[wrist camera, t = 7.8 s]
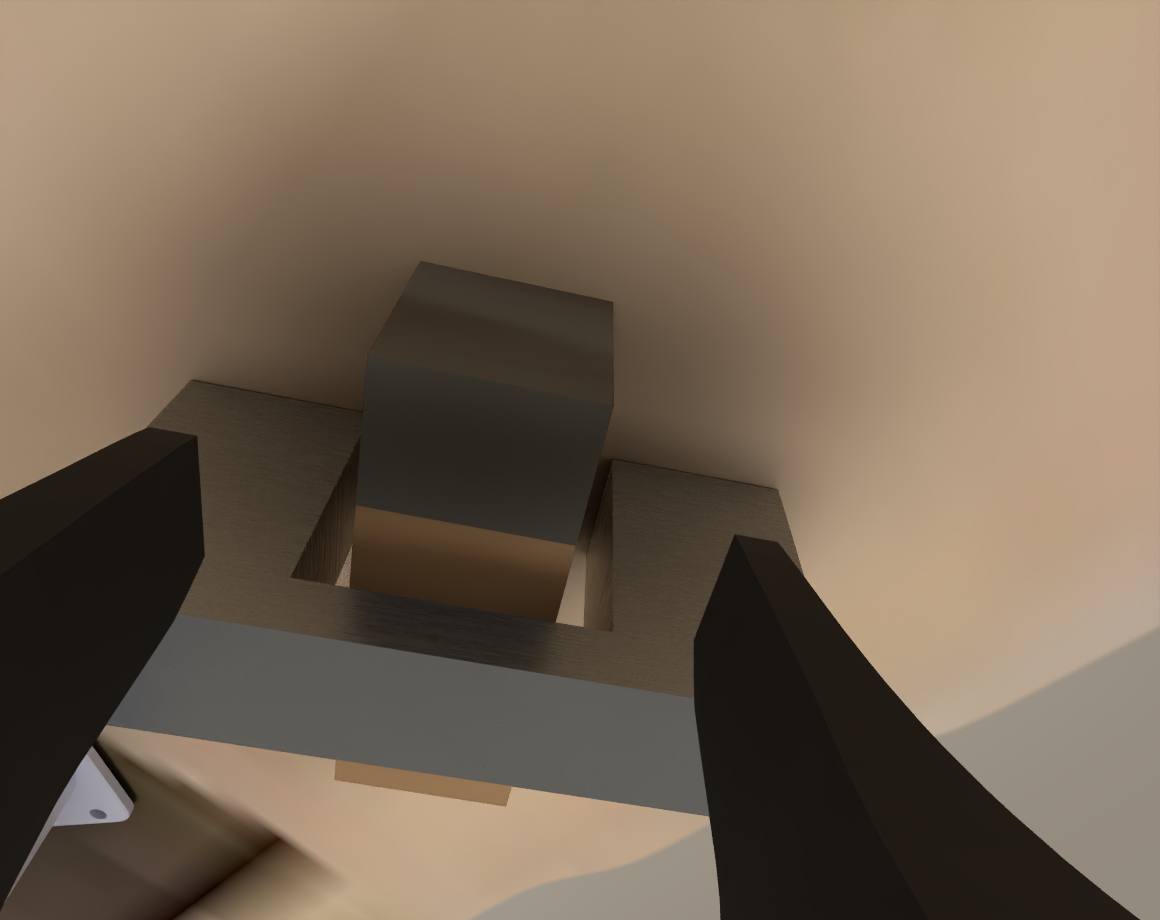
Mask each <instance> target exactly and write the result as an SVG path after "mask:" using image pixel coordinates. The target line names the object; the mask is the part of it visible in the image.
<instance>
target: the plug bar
mask: <svg viewBox="0 0 1160 920" xmlns="http://www.w3.org/2000/svg"><path fill="white" fill-rule="evenodd" d="M613 407H614V369H613V302H611V301H606V300H601V299H596V298H592V297H587V296H582V295H578V294H573V293H568V292H564V291H559V290H554V289H549V288H545V287H540V286H535V285H531V284H526V283H521V282H516V281H512V280H507V279H502V278H498V277H493V276H488V275H484V274H479V273H474V272H469V271H465V270H460V269H455V268H451V267H446V266H441V265H436V264H432V263H427V262H422V261H421V262H420V263H419V265H418V267H417V269H416V270H415V272H414V274H413V276H412V278H411V279H410V281H409V283H408V285H407V286H406V288H405V290H404V292H403V293H402V295H401V297H400V299H399V301H398V302H397V304H396V306H395V308H394V309H393V311H392V313H391V315H390V316H389V318H388V320H387V322H386V323H385V325H384V327H383V329H382V331H381V332H380V334H379V336H378V338H377V339H376V341H375V343H374V345H373V346H372V348H371V350H370V352H369V354H368V355H367V366H366V379H365V392H364V404H363V417H362V430H361V443H360V456H359V469H358V482H357V495H356V508H355V521H354V534H353V547H352V560H351V573H350V586H349V588H354V589H360V590H366V591H372V592H378V593H384V594H390V595H396V596H402V597H408V598H413V599H419V600H425V601H431V602H437V603H443V604H449V605H455V606H461V607H467V608H473V609H478V610H484V611H490V612H496V613H502V614H508V615H514V616H520V617H526V618H532V619H538V620H544V621H549V622H555V623H556V619H557V615H558V611H559V608H560V604H561V600H562V597H563V593H564V589H565V585H566V582H567V578H568V574H569V570H570V567H571V563H572V559H573V556H574V552H575V548H576V544H577V541H578V537H579V533H580V529H581V526H582V522H583V518H584V515H585V511H586V507H587V503H588V500H589V496H590V492H591V488H592V485H593V481H594V477H595V474H596V470H597V466H598V462H599V459H600V455H601V451H602V448H603V444H604V440H605V436H606V433H607V429H608V425H609V421H610V418H611V414H612V410H613ZM335 780H338V781H345V782H351V783H358V784H364V785H371V786H377V787H383V788H390V789H396V790H403V791H409V792H416V793H422V794H429V795H435V796H442V797H448V798H454V799H461V800H467V801H474V802H480V803H487V804H493V805H500V806H506V805H507V801H508V798H509V794H510V790H511V786H506V785H499V784H493V783H486V782H480V781H473V780H466V779H460V778H453V777H447V776H440V775H433V774H427V773H420V772H414V771H407V770H400V769H394V768H387V767H381V766H374V765H367V764H361V763H354V762H348V761H341V760H336V767H335Z"/></svg>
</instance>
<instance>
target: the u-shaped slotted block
mask: <svg viewBox="0 0 1160 920" xmlns="http://www.w3.org/2000/svg"><path fill="white" fill-rule="evenodd" d="M362 417H363V412H358V411H353V410H348V409H342V408H337V407H332V406H326V405H321V404H316V403H310V402H305V401H300V400H294V399H289V398H283V397H278V396H273V395H267V394H262V393H257V392H251V391H246V390H241V389H235V388H230V387H225V386H219V385H214V384H209V383H203V382H198V381H192V380H190V382H189V383H188V384H187V385H186V386H185V387H184V388H183V389H182V390H181V391H180V392H179V393H178V394H177V395H176V397H175V398H174V399H173V400H172V401H171V402H170V403H169V404H168V405H167V406H166V407H165V408H164V409H163V411H162V412H161V413H160V414H159V415H158V416H157V417H156V418H155V419H154V420H153V421H152V422H151V423H150V425H149V426H148V427H153V428H158V429H163V430H169V431H174V432H180V433H185V434H191V435H196V436H197V438H198V454H199V470H200V486H201V501H202V517H203V533H204V548H205V557H204V559H203V561H202V564H201V566H200V568H199V570H198V572H197V574H196V577H195V579H194V581H193V583H192V585H191V588H190V590H189V592H188V594H187V596H186V598H185V600H184V602H183V604H182V606H181V608H180V610H179V612H178V614H177V616H176V618H175V620H174V622H173V623H172V625H171V627H170V628H169V630H168V631H167V633H166V635H165V636H164V638H163V639H162V641H161V642H160V644H159V645H158V647H157V648H156V650H155V651H154V653H153V655H152V656H151V658H150V659H149V661H148V662H147V664H146V665H145V667H144V668H143V670H142V671H141V673H140V674H139V676H138V677H137V679H136V680H135V682H134V684H133V685H132V687H131V688H130V690H129V691H128V693H127V694H126V696H125V697H124V699H123V700H122V702H121V703H120V705H119V706H118V708H117V709H116V711H115V712H114V714H113V715H112V717H111V718H110V720H109V721H108V723H107V724H106V725H110V726H117V727H124V728H130V729H137V730H143V731H150V732H157V733H163V734H170V735H176V736H183V737H189V738H196V739H203V740H209V741H216V742H222V743H229V744H236V745H242V746H249V747H255V748H262V749H269V750H275V751H282V752H288V753H295V754H302V755H308V756H315V757H321V758H328V759H335V760H341V761H348V762H354V763H361V764H367V765H374V766H381V767H387V768H394V769H400V770H407V771H414V772H420V773H427V774H433V775H440V776H447V777H453V778H460V779H466V780H473V781H480V782H486V783H493V784H499V785H506V786H513V787H519V788H526V789H532V790H539V791H545V792H552V793H559V794H565V795H572V796H578V797H585V798H592V799H598V800H605V801H611V802H618V803H625V804H631V805H638V806H644V807H651V808H658V809H664V810H671V811H677V812H684V813H690V814H697V815H704V816H709V810H708V803H707V796H706V789H705V782H704V776H703V769H702V762H701V754H700V747H699V740H698V732H697V725H696V717H695V709H694V638H695V635H696V632H697V630H698V627H699V625H700V622H701V619H702V617H703V614H704V612H705V609H706V607H707V604H708V601H709V599H710V596H711V594H712V591H713V589H714V586H715V583H716V581H717V578H718V576H719V573H720V571H721V568H722V565H723V563H724V560H725V558H726V555H727V553H728V550H729V547H730V545H731V542H732V540H733V537H734V534H737V535H743V536H748V537H754V538H759V539H764V540H770V541H775V542H778V543H779V544H780V545H781V547H782V548H783V549H784V550H785V552H786V553H787V554H788V556H789V557H790V558H791V560H792V561H793V562H794V564H795V565H796V566H797V568H798V569H799V570H800V572H801V573H802V574H803V571H802V568H801V564H800V561H799V558H798V555H797V551H796V548H795V545H794V541H793V538H792V535H791V531H790V528H789V525H788V521H787V518H786V515H785V511H784V508H783V505H782V501H781V498H780V495H779V491H778V490H776V489H771V488H765V487H760V486H755V485H749V484H744V483H738V482H733V481H728V480H722V479H717V478H712V477H706V476H701V475H696V474H690V473H685V472H680V471H674V470H669V469H664V468H658V467H653V466H647V465H642V464H637V463H631V462H626V461H621V460H615V459H612V463H611V466H610V470H609V474H608V478H607V481H606V485H605V489H604V493H603V496H602V500H601V504H600V508H599V511H598V515H597V519H596V523H595V526H594V530H593V534H592V538H591V541H590V545H589V549H588V553H587V556H586V580H585V607H584V627H579V626H573V625H567V624H561V623H555V622H549V621H544V620H538V619H532V618H526V617H520V616H514V615H508V614H502V613H496V612H490V611H484V610H478V609H473V608H467V607H461V606H455V605H449V604H443V603H437V602H431V601H425V600H419V599H413V598H408V597H402V596H396V595H390V594H384V593H378V592H372V591H366V590H360V589H354V588H348V587H342V586H337V585H335V584H336V582H337V579H338V577H339V575H340V572H341V570H342V567H343V565H344V563H345V560H346V558H347V555H348V553H349V551H350V548H351V546H352V543H353V534H354V521H355V508H356V495H357V482H358V469H359V456H360V443H361V430H362ZM148 427H147V428H148ZM803 576H804V574H803Z"/></svg>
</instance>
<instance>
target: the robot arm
mask: <svg viewBox="0 0 1160 920" xmlns="http://www.w3.org/2000/svg"><path fill="white" fill-rule="evenodd" d="M204 557H205V548H204V533H203V517H202V501H201V486H200V470H199V454H198V438H197V436H196V435H191V434H185V433H180V432H174V431H169V430H163V429H158V428H153V427H148V428H146V429H144V430H141V431H139V432H137V433H134V434H132V435H130V436H128V437H126V438H124V439H122V440H120V441H117V442H115V443H113V444H111V445H109V446H107V447H105V448H103V449H101V450H99V451H97V452H95V453H93V454H91V455H89V456H87V457H85V458H83V459H81V460H79V461H77V462H75V463H73V464H71V465H69V466H67V467H65V468H63V469H61V470H59V471H57V472H55V473H53V474H51V475H49V476H47V477H45V478H43V479H41V480H39V481H37V482H35V483H33V484H31V485H29V486H27V487H25V488H23V489H21V490H19V491H17V492H15V493H13V494H10V495H8V496H6V497H4V498H2V499H0V911H1V909H2V907H3V905H4V903H5V902H6V900H7V898H8V897H9V895H10V894H11V892H12V890H13V889H14V887H15V886H16V884H17V882H18V881H19V879H20V877H21V876H22V874H23V873H24V871H25V869H26V868H27V866H28V865H29V863H30V861H31V860H32V858H33V857H34V855H35V853H36V852H37V850H38V849H39V847H40V845H41V844H42V842H43V840H44V839H45V837H46V836H47V834H48V832H49V831H50V829H51V828H52V826H63V825H78V824H93V823H107V822H120V821H124V820H126V819H128V818H129V816H130V814H131V813H132V811H133V808H134V805H133V802H132V801H131V799H130V798H129V796H128V795H127V794H126V792H125V791H124V789H123V788H122V787H121V785H120V784H119V782H118V781H117V780H116V778H115V777H114V775H113V774H112V773H111V771H110V770H109V768H108V767H107V766H106V764H105V763H104V762H103V760H102V759H101V757H100V756H99V755H98V753H97V752H96V750H95V749H94V748H93V746H92V745H93V744H94V742H95V741H96V739H97V738H98V736H99V735H100V733H101V732H102V730H103V729H104V727H105V726H106V724H107V723H108V721H109V720H110V718H111V717H112V715H113V714H114V712H115V711H116V709H117V708H118V706H119V705H120V703H121V702H122V700H123V699H124V697H125V696H126V694H127V693H128V691H129V690H130V688H131V687H132V685H133V684H134V682H135V680H136V679H137V677H138V676H139V674H140V673H141V671H142V670H143V668H144V667H145V665H146V664H147V662H148V661H149V659H150V658H151V656H152V655H153V653H154V651H155V650H156V648H157V647H158V645H159V644H160V642H161V641H162V639H163V638H164V636H165V635H166V633H167V631H168V630H169V628H170V627H171V625H172V623H173V622H174V620H175V618H176V616H177V614H178V612H179V610H180V608H181V606H182V604H183V602H184V600H185V598H186V596H187V594H188V592H189V590H190V588H191V585H192V583H193V581H194V579H195V577H196V574H197V572H198V570H199V568H200V566H201V564H202V561H203V559H204ZM694 709H695V717H696V725H697V732H698V740H699V747H700V754H701V762H702V769H703V776H704V782H705V789H706V796H707V803H708V810H709V817H710V824H711V830H712V837H713V845H714V852H715V859H716V867H717V877H718V886H719V896H720V918H721V920H1140V919H1138V918H1137V917H1136V916H1134V915H1133V914H1132V913H1131V912H1129V911H1128V910H1126V909H1125V908H1124V907H1123V906H1121V905H1120V904H1119V903H1118V902H1116V901H1115V900H1113V899H1112V898H1111V897H1110V896H1109V895H1107V894H1106V893H1105V892H1103V891H1102V890H1101V889H1100V888H1098V887H1097V886H1096V885H1095V884H1094V883H1092V882H1091V881H1090V880H1089V879H1088V878H1086V877H1085V876H1084V875H1083V874H1081V873H1080V872H1079V871H1078V870H1077V869H1075V868H1074V867H1073V866H1072V865H1070V864H1069V863H1068V862H1067V861H1065V860H1064V859H1063V858H1062V857H1061V856H1060V855H1059V854H1058V853H1056V852H1055V851H1054V850H1053V849H1052V848H1050V846H1049V845H1047V844H1046V843H1045V842H1044V841H1043V840H1041V838H1039V837H1038V836H1037V835H1036V834H1035V833H1034V832H1033V831H1031V830H1030V829H1029V828H1028V827H1027V826H1026V825H1025V824H1023V823H1022V822H1021V821H1020V820H1019V819H1018V818H1017V817H1015V816H1014V815H1013V814H1012V813H1011V812H1010V811H1009V810H1008V809H1006V808H1005V806H1003V805H1002V804H1001V803H1000V802H999V801H998V800H997V799H996V798H995V797H994V796H993V795H992V794H991V793H990V792H988V791H987V790H986V789H985V788H984V787H983V786H982V785H981V784H980V783H979V782H978V781H977V780H976V779H975V778H974V777H973V776H972V775H971V774H970V773H969V772H968V771H967V770H966V769H965V768H964V767H963V766H962V765H961V764H960V763H959V762H958V761H957V760H956V759H955V758H954V757H953V756H952V755H951V754H950V753H949V752H948V751H947V750H946V749H945V748H944V747H943V746H942V745H941V744H940V743H939V742H938V740H937V739H936V738H935V737H934V736H933V735H932V734H931V733H930V732H929V731H928V730H927V729H926V728H925V727H924V725H923V724H922V723H921V722H920V721H919V720H918V719H917V718H916V716H915V715H914V714H913V713H912V712H911V711H910V710H909V708H908V707H907V706H906V705H905V704H904V703H903V702H902V700H901V699H900V698H899V697H898V696H897V695H896V694H895V692H894V691H893V690H892V689H891V688H890V687H889V685H888V684H887V683H886V682H885V681H884V680H883V678H882V677H881V676H880V675H879V673H878V672H877V671H876V670H875V669H874V667H873V666H872V665H871V664H870V663H869V661H868V660H867V659H866V658H865V656H864V655H863V654H862V653H861V651H860V650H859V649H858V647H857V646H856V645H855V644H854V642H853V641H852V640H851V638H850V637H849V636H848V635H847V633H846V632H845V631H844V629H843V628H842V627H841V626H840V624H839V623H838V622H837V620H836V619H835V618H834V616H833V615H832V614H831V612H830V611H829V610H828V608H827V607H826V606H825V604H824V603H823V602H822V600H821V599H820V597H819V596H818V595H817V593H816V592H815V591H814V589H813V588H812V587H811V585H810V584H809V583H808V581H807V580H806V578H805V577H804V576H803V574H802V573H801V572H800V570H799V569H798V568H797V566H796V565H795V564H794V562H793V561H792V560H791V558H790V557H789V556H788V554H787V553H786V552H785V550H784V549H783V548H782V547H781V545H780V544H779V543H778V542H775V541H770V540H764V539H759V538H754V537H748V536H743V535H737V534H734V537H733V540H732V542H731V545H730V547H729V550H728V553H727V555H726V558H725V560H724V563H723V565H722V568H721V571H720V573H719V576H718V578H717V581H716V583H715V586H714V589H713V591H712V594H711V596H710V599H709V601H708V604H707V607H706V609H705V612H704V614H703V617H702V619H701V622H700V625H699V627H698V630H697V632H696V635H695V638H694Z"/></svg>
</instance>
